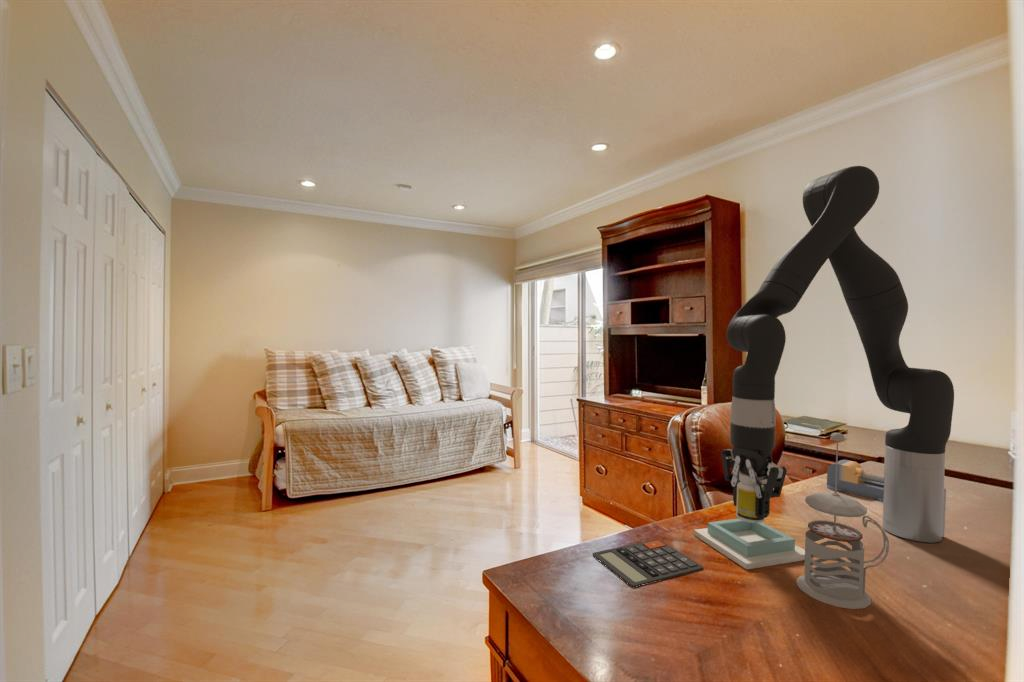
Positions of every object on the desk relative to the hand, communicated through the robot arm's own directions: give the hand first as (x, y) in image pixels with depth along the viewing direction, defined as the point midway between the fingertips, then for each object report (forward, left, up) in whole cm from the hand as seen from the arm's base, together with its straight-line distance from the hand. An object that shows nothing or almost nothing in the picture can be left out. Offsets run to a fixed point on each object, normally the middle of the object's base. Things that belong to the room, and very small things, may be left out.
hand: (750, 511), depth 90 cm
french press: (-2, +16, -7) cm, 18 cm away
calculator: (+22, 0, -7) cm, 23 cm away
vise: (-51, -15, -7) cm, 53 cm away
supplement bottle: (0, 0, -2) cm, 2 cm away
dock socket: (0, 0, -7) cm, 7 cm away
